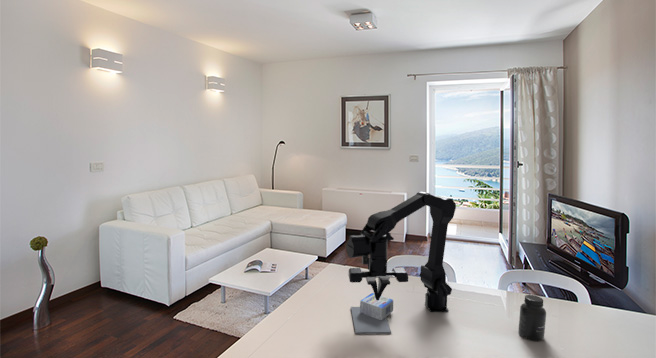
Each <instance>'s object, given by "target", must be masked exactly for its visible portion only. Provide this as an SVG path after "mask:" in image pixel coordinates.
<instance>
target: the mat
mask: <svg viewBox="0 0 656 358" xmlns="http://www.w3.org/2000/svg"><path fill="white" fill-rule="evenodd" d="M350 312H351V316H352V317H351V318H352V322H353V325H354V326H353V327H354V332H355V333H354V334H355V335H380V334H386V335H389V334H392V330H391V326H390V325H389V322H388V320H387V316H386V317H385V318H384V319H383V320H379V319H376V318H373V317H371V316H368V315H365V314H363V313H360V306H350Z"/></svg>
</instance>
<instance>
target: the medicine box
mask: <svg viewBox="0 0 656 358" xmlns="http://www.w3.org/2000/svg"><path fill="white" fill-rule="evenodd" d="M359 307H360V313H363V314H365V315H368V316H371V317H373V318H376V319H379V320H383V319H384V318H385V317H386V318H387V317H388V316H389V315H390V314H392V313H393V312H394V299H392V298H389V297H386V296H383V295H381V297H380V299H379V300H376V298H375V294H374V292H372V293H370V294H368V295H367V296H365V297H364V298H363V299H361V300H360V301H359Z"/></svg>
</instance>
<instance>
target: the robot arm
mask: <svg viewBox="0 0 656 358" xmlns="http://www.w3.org/2000/svg"><path fill="white" fill-rule="evenodd" d="M425 206H427V207H429V213H430V216H431V219H432V228H431V236H430V241H429V242H430V243H429V251H428V257H427V258H428V259H427V262H426V263H425V265H421V266H420V273H419V275H418V277H420V281H421V283H422V284H423V287H424V288H426V293H425V302H424V305H425V306H426V307H427V309H428V310H429V312H436V313H437V312H449V308H448V306H447V305H448V296H450V295H451V294H452V292H453V288H452V287H451V286H450V285H449V283H447V278H446V277H447V274H446V271H445V269H444V265H443V262H444V255H445V249H446V242H447V233H448V227H449V223H450V222H451V221H452V220H453V218H454V216H455V212H456V210H457V205H456V202H455V200H454V199H451V198H447V197H445V196H439V195H432V194H431V193H429V192H425V191H418V192H416V194H414V195H413V196H411V197H409V198H407V199H406V200H403V202H401V203H399V204H398V205H395V206H394V207H392V208H390V209H387V210H384V211H383V210H382V211H379V212H376V213H373V214H371V215H370V216H369V217H368V218H367V221H366V224H365V225H364V227H363V228H362V230H361V231H360V234H359V235H358V234H357V235H354V234H353V235H349V236H348V240H347V242H346V244H345V249H346V251H345V252H346V254H347V256H348V258H349V259H353V258H360V257H361V263H362V265H365V266H367V270H368V271H362V269H361V267H350V268H348V280H349V283H361V282H362V281H363V278H365V280H366V284H367V285H370V286H371V288H372V291H373V293H374V294H375V298H376V300H379V299H380V297H381V296H383V295H382V294H383V292H384V291H385V289H386V287H387V286H388V285H391V281H390V279H391V278H395V280H396V281H397V282H398V283H407V282H409V273H408V272H407V270H406V269H405V267H392V270H390V271H388V241H394V239H395V238H394V237H393V236H392V235H391V234H390V232H391V231H393V230H394V229H395V228H396V226H397V224H398V223H399V222H401V221H402V220H403V219H405V218H407V217H409V216H411V215H412V214H414V213H415V212H417V211H419V210H420V209H421V210H422V208H424V207H425ZM372 232H373V233H372ZM376 278H378V279H377V280H378V282H377V280H376Z"/></svg>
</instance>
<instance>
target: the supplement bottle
mask: <svg viewBox="0 0 656 358" xmlns="http://www.w3.org/2000/svg"><path fill="white" fill-rule="evenodd" d="M523 302H524V303H522V304H521V305H520V309H519V317H518V319H519V320H518V334H519V335H520V336H521V337H523V338H524V339H526V340H529V341H534V342H540V341H543V340H544V339H545V333H546V321H547V310H546V309H545V308H544V299H543V298H542V297H540V296H538V295H533V294H526V295H525V296H524V300H523Z"/></svg>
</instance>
